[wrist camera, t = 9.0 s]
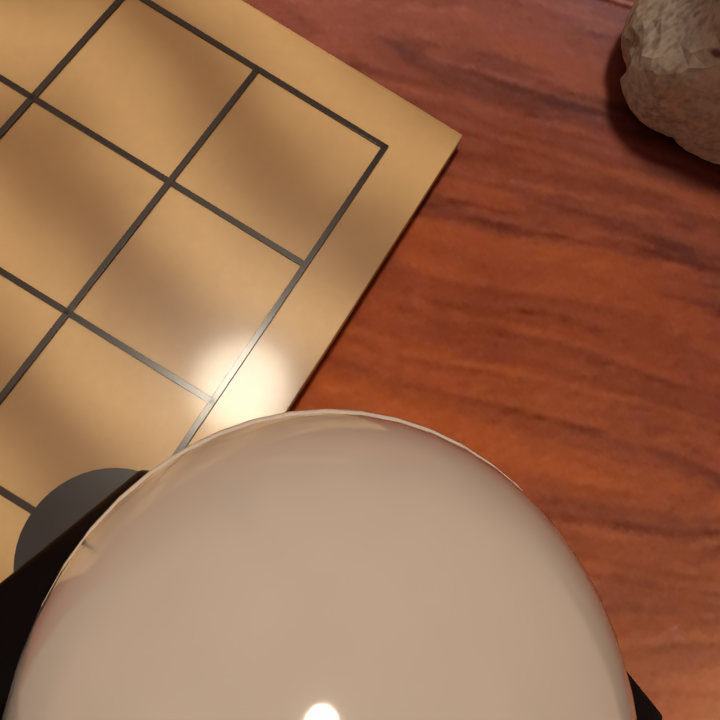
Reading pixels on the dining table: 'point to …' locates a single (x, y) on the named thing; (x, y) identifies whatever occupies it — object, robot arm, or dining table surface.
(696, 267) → the dining table surface
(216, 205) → the game board
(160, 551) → the dome-capped cylinder
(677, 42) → the stone
